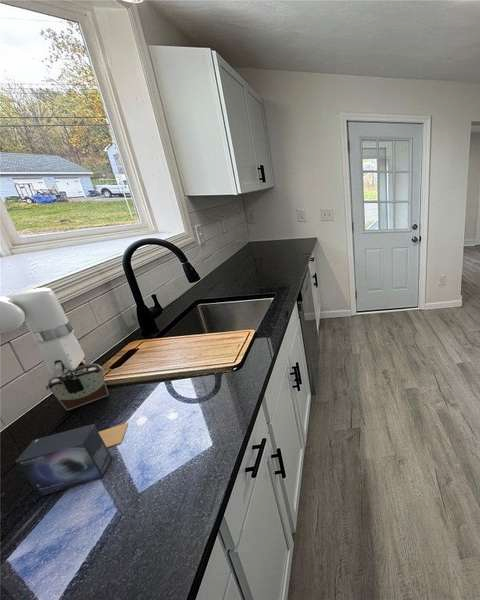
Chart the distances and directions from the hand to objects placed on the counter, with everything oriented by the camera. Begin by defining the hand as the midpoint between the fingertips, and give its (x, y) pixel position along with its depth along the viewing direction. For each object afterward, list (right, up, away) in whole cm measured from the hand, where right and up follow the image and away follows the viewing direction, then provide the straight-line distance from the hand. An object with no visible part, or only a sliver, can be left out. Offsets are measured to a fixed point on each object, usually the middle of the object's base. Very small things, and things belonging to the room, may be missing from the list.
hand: (81, 384), depth 94 cm
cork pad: (+19, -11, -15) cm, 26 cm away
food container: (0, -5, +2) cm, 5 cm away
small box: (+24, -14, -24) cm, 37 cm away
